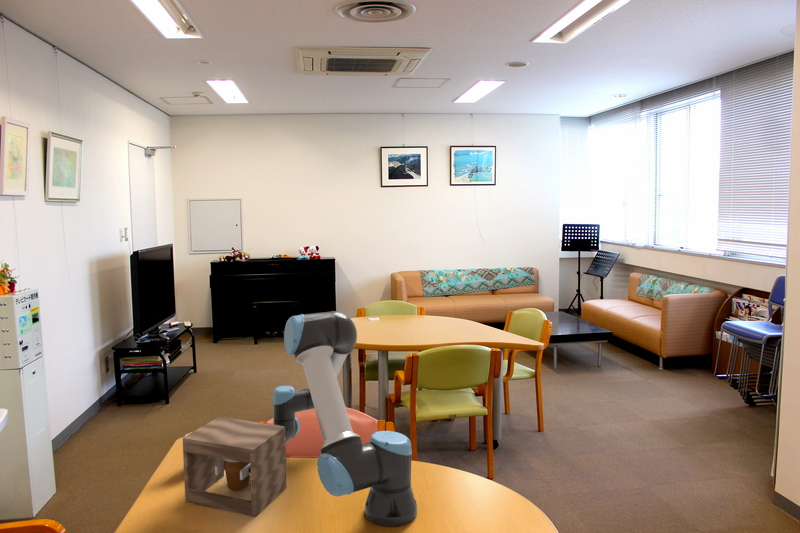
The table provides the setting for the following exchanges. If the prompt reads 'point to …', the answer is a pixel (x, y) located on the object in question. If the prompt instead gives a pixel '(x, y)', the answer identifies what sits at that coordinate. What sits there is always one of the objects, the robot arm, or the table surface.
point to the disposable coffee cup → (235, 475)
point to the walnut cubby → (238, 444)
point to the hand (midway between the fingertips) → (228, 473)
